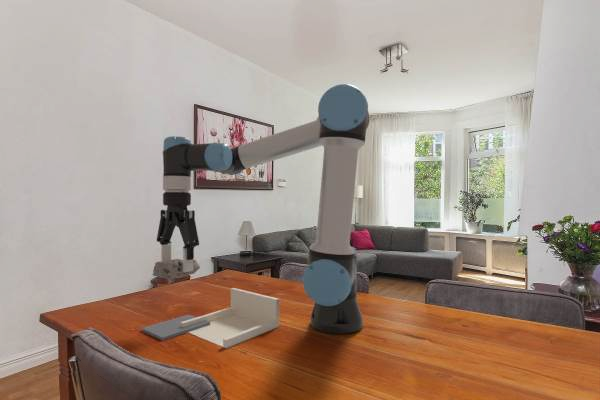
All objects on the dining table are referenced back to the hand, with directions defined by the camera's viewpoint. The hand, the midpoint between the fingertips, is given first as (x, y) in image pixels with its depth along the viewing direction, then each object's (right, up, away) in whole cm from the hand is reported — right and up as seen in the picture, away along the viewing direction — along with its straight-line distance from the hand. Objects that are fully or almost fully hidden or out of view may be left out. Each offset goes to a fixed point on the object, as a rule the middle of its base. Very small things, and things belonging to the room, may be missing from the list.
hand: (176, 268), depth 100 cm
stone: (0, -2, 0) cm, 2 cm away
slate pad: (0, -17, 0) cm, 17 cm away
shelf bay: (+15, -17, -1) cm, 23 cm away
